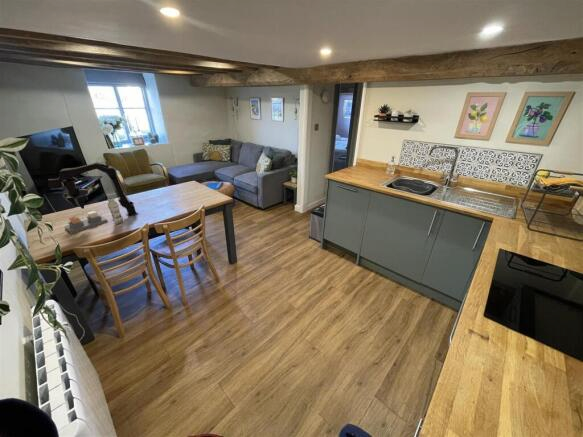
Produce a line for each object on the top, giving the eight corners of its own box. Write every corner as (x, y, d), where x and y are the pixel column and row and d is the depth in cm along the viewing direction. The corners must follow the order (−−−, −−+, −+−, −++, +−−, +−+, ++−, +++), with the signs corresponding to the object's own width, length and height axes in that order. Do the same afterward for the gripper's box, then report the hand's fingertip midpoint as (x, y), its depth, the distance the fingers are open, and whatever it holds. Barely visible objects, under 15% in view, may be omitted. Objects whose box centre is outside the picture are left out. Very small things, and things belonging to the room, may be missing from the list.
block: (107, 221, 180) (105, 215, 177) (72, 233, 163) (69, 227, 161) (100, 217, 185) (98, 211, 183) (65, 228, 169) (62, 222, 167)
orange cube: (80, 221, 169) (78, 217, 167) (72, 224, 165) (70, 219, 164) (78, 220, 171) (76, 215, 169) (70, 222, 167) (68, 218, 166)
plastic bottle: (122, 220, 183) (114, 196, 173) (125, 222, 179) (117, 198, 170) (112, 222, 178) (103, 198, 169) (115, 225, 174) (106, 201, 165)
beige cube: (98, 216, 177) (96, 212, 175) (91, 218, 174) (89, 214, 172) (95, 214, 179) (94, 210, 177) (88, 216, 176) (87, 212, 174)
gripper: (92, 186, 168) (99, 206, 175) (76, 182, 174) (83, 201, 181) (74, 190, 158) (82, 211, 165) (57, 186, 164) (66, 206, 171)
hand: (79, 207), depth 171 cm, fingers open, 9 cm apart
